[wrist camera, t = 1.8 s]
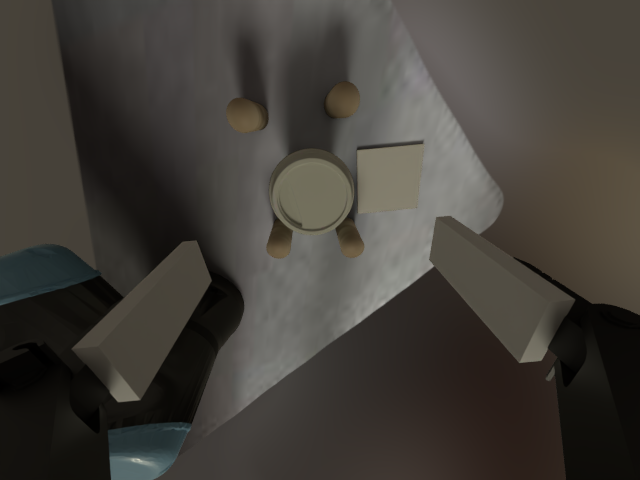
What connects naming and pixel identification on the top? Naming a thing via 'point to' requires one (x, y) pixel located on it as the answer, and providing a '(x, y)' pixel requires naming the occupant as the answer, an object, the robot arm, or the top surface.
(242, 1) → the top surface
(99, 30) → the top surface
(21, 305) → the robot arm
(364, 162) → the felt mat
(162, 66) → the top surface
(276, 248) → the spacer posts
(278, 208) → the coffee cup
